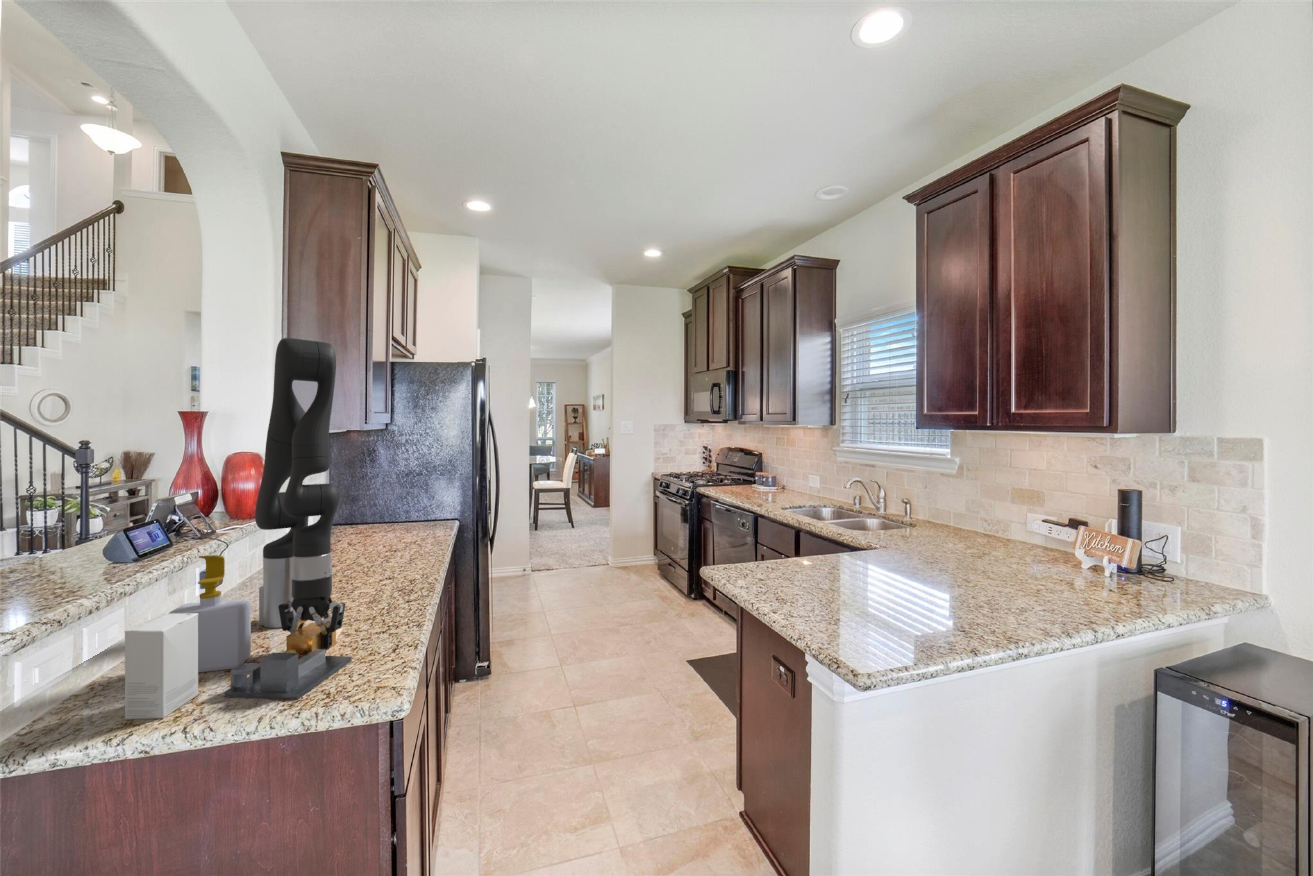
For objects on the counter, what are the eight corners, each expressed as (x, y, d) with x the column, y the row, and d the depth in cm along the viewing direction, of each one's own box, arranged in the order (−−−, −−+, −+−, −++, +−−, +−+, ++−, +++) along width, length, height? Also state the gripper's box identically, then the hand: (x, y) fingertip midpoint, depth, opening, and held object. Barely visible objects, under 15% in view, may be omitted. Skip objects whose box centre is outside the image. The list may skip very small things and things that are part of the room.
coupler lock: (286, 659, 114) (286, 636, 113) (312, 644, 122) (312, 622, 121) (311, 660, 113) (311, 636, 113) (335, 644, 121) (335, 623, 121)
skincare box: (164, 696, 98) (163, 612, 97) (202, 695, 98) (201, 611, 98) (122, 721, 89) (121, 629, 89) (164, 719, 90) (163, 629, 90)
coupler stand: (224, 697, 97) (224, 659, 97) (287, 659, 113) (287, 627, 113) (298, 699, 97) (297, 661, 97) (351, 661, 113) (351, 628, 113)
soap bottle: (165, 677, 105) (164, 560, 104) (183, 662, 111) (183, 552, 111) (238, 669, 109) (238, 556, 108) (252, 656, 115) (251, 549, 115)
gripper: (267, 578, 114) (267, 655, 114) (332, 579, 113) (332, 657, 113) (292, 568, 121) (292, 641, 121) (354, 570, 121) (354, 643, 121)
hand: (312, 649), depth 117 cm, fingers closed on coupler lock, 5 cm apart
